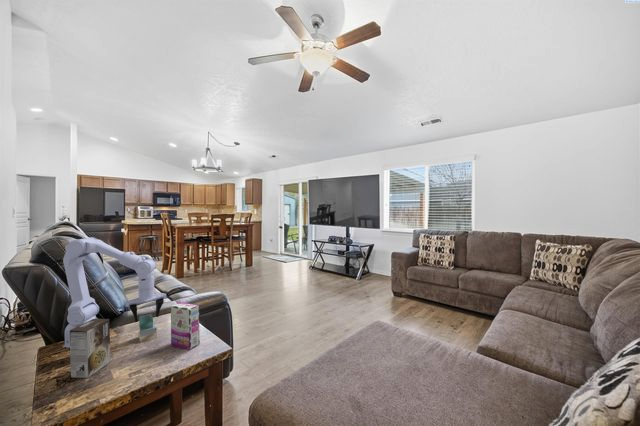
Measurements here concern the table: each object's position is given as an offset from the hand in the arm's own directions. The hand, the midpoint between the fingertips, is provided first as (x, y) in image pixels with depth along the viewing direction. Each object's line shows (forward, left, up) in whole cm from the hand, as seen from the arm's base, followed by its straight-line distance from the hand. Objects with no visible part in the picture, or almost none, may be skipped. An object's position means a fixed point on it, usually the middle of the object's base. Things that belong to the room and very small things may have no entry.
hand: (146, 318), depth 112 cm
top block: (0, 0, -6) cm, 6 cm away
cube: (0, 0, -4) cm, 4 cm away
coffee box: (-3, -22, -8) cm, 24 cm away
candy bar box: (+20, -5, -8) cm, 22 cm away
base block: (0, 0, -9) cm, 9 cm away
